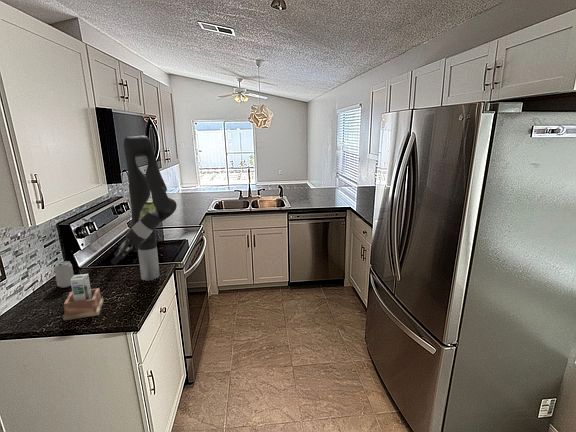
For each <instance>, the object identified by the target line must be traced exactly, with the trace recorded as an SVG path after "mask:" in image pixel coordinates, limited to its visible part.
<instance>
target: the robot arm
mask: <svg viewBox="0 0 576 432" xmlns="http://www.w3.org/2000/svg"><path fill="white" fill-rule="evenodd" d="M123 150H124V156H125V161H126V167H127V169H126V170H127V176H128V177H127V178H128V191H129V199H130V206H131V228H130V229H129V230H128V231H127V232H126V233H125V238H126V239H125V240H124V241H123V242H121V243H120V245H119V247H118V249H117V250H116V251H115V252H114V253H113V256H114V258H112V259H111V260H110V263H111V264H112V265H117V264H118V263H119V262H120V261H121V260H124V258H125V257H126V256H127V255H128V254H129V253H130V252H131V251H132V250H133V248H134V246H137V252H138V262H139V270H140V271H139V272H140V279H141V280H142V281H144V280H145V281H144V282H151V281H155V280H157V279H159V278H160V277H159V276H160V275H161V274H160V265H159V263H160V262H159V256H158V255H159V254H158V247H157V246H158V245H157V237H156V236H157V232H156V230H157V229H156V228H157V227H158V226H159V225H160V224H161V223H162V222H164V221H165V220H166V219H168V218H169V217H171V216H172V215H173V213H175V212H176V210H177V206H178V205H177V204H178V203H177V202H176V201H175V200H174V199H172V198H170V197H168V194H167V191H168V187H167V185H166V183H165V179H163V176H162V175H161V171H160V168H159V165H158V162H157V158H156V155H155V154H156V153H155V151H154V148H153V145H152V142H151V140H150V138H149V137H148V136H147V135H133V136H126V137H124V140H123ZM138 157H146V159H147V167H146V171H145V174H144V173H143V172H142V170H141V169H140V168H139V166H138V164H137V161H136V158H138ZM150 197H151V199H152V200H153V204H154V206H155V208H156V210H154V211H150V212H148V213H147V214H145V215H144V217H143V218H141V215H140V212H141V210H142V208H143V207H144V205H145V204H146V202H147V201H148V199H150ZM158 277H159V278H158ZM156 278H157V279H156ZM154 279H155V280H154ZM150 280H151V281H150Z"/></svg>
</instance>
